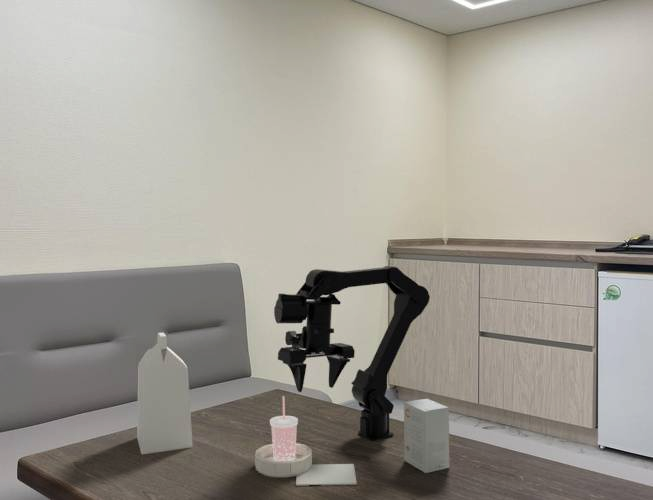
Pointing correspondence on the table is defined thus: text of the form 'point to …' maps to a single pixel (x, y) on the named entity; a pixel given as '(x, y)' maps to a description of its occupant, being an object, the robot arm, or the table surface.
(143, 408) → the milk
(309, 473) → the mat
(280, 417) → the beverage cup
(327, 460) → the table surface
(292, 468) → the bowl
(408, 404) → the small box
